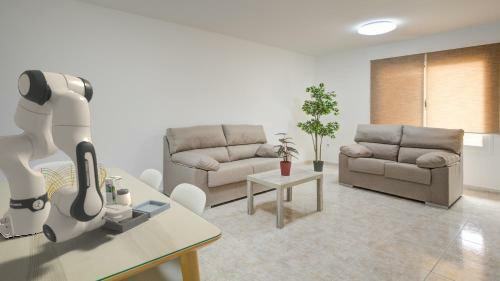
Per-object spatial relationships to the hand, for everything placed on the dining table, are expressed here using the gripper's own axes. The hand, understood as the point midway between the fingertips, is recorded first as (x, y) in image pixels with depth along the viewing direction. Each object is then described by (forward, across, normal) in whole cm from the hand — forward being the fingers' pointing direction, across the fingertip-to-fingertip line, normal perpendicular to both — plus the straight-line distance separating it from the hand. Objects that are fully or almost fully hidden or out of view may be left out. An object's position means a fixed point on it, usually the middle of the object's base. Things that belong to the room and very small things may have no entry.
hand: (125, 203), depth 114 cm
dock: (-1, 0, +8) cm, 8 cm away
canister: (-1, 0, +8) cm, 8 cm away
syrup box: (+12, +23, +8) cm, 27 cm away
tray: (+14, +1, +8) cm, 16 cm away
